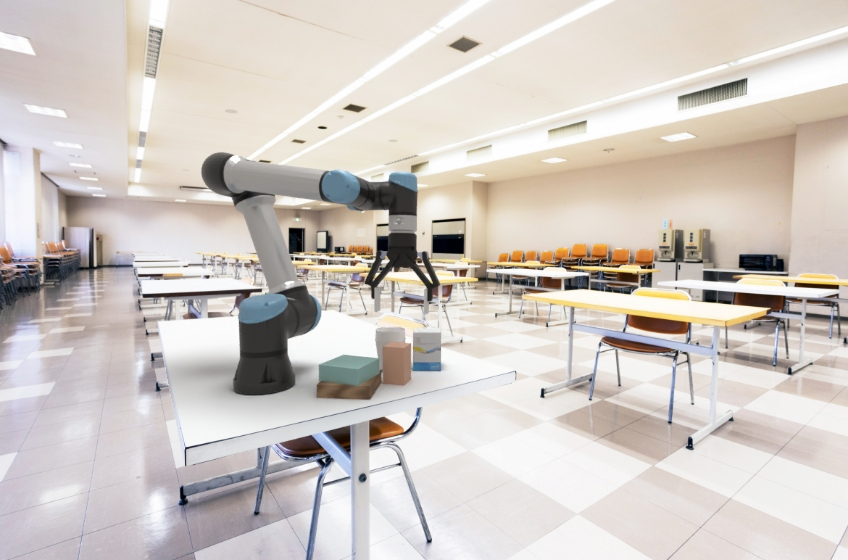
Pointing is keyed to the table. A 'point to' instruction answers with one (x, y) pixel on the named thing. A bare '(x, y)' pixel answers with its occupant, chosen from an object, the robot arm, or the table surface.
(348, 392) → the block bottom
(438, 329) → the ink box
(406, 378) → the tall block
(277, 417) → the table surface
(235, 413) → the table surface
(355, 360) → the block top
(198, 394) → the table surface
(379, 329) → the cup
